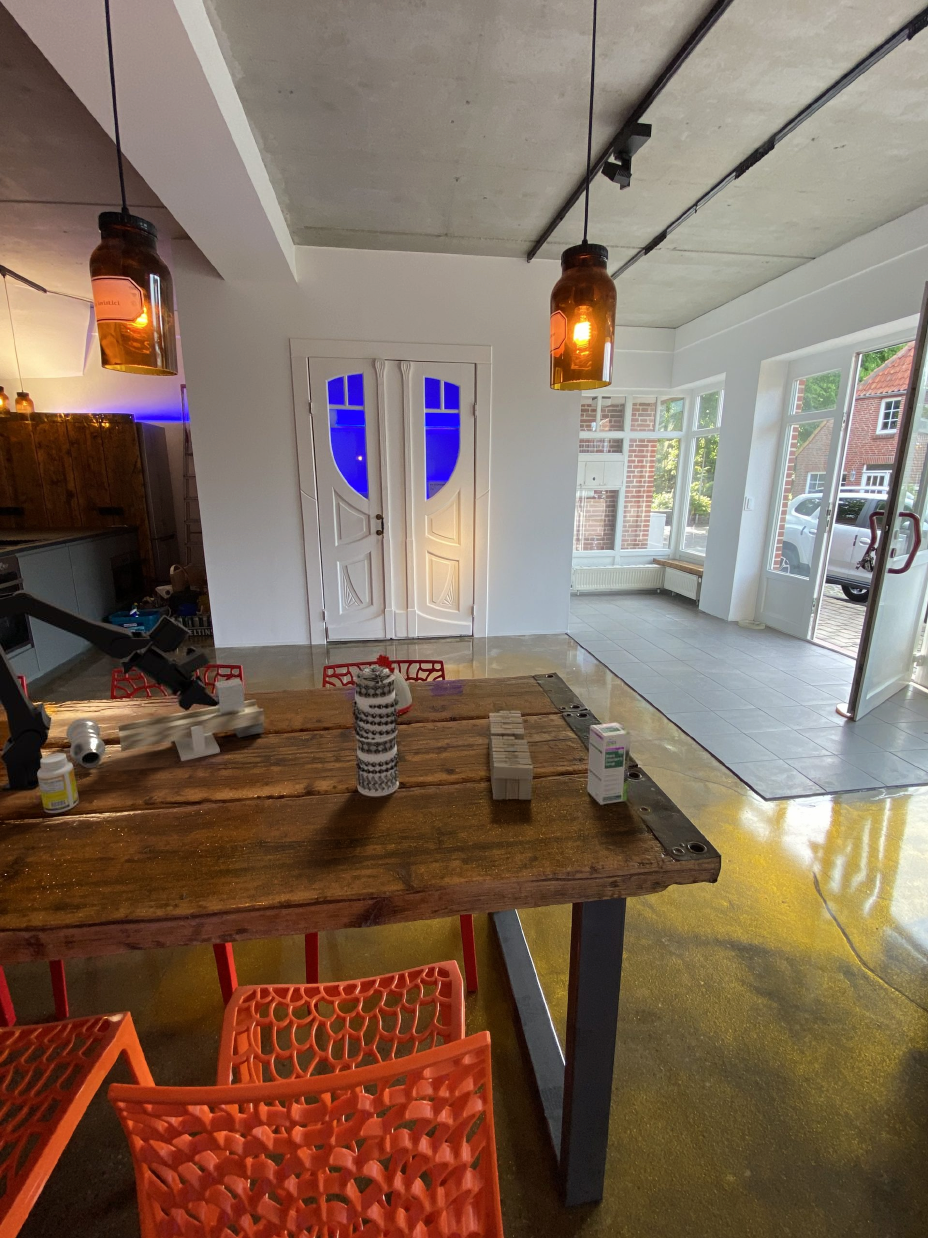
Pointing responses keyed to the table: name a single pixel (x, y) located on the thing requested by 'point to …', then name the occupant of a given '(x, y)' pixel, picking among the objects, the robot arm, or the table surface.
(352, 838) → the table surface
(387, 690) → the white patterned cylinder
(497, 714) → the block tower
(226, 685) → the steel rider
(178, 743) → the beam stand
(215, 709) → the balance beam
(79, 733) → the silver metal bottle
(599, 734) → the syrup box
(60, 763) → the supplement bottle
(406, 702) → the kitchen timer
